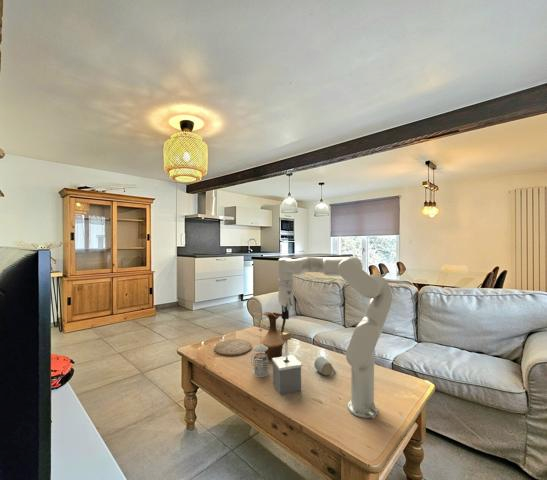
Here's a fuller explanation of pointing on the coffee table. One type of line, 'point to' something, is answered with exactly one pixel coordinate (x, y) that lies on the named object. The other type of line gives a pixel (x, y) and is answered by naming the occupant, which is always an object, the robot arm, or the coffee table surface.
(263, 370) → the french press
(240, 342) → the trivet
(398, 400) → the coffee table surface
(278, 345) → the pitcher
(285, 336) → the plunger
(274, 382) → the socket block
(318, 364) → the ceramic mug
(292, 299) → the robot arm
